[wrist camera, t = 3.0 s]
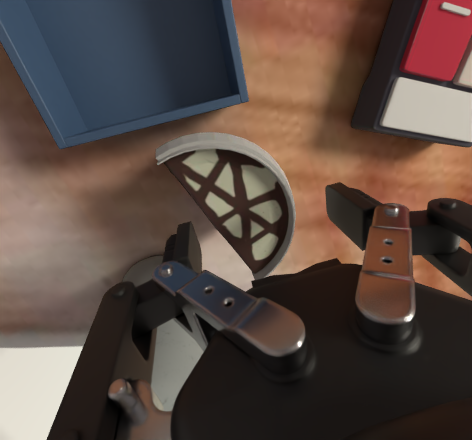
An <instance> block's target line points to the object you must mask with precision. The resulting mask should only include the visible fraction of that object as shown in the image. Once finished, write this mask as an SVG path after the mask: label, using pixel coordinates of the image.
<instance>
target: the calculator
mask: <svg viewBox="0 0 472 440" xmlns="http://www.w3.org/2000/svg"><path fill="white" fill-rule="evenodd" d="M351 126H352V128H354V129H359V130H365V131H371V132H376V133H382V134H388V135H393V136H399V137H405V138H411V139H416V140H422V141H428V142H433V143H439V144H447V145H454V146H461V147H471V146H472V0H393V3H392V6H391V10H390V13H389V16H388V19H387V22H386V26H385V29H384V32H383V35H382V38H381V41H380V45H379V48H378V51H377V54H376V57H375V61H374V64H373V67H372V70H371V73H370V75H369V77H368V78H367V80H366V81H365V83H364V85H363V87H362V90H361V93H360V96H359V100H358V103H357V106H356V109H355V113H354V116H353V119H352V122H351Z"/></svg>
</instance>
